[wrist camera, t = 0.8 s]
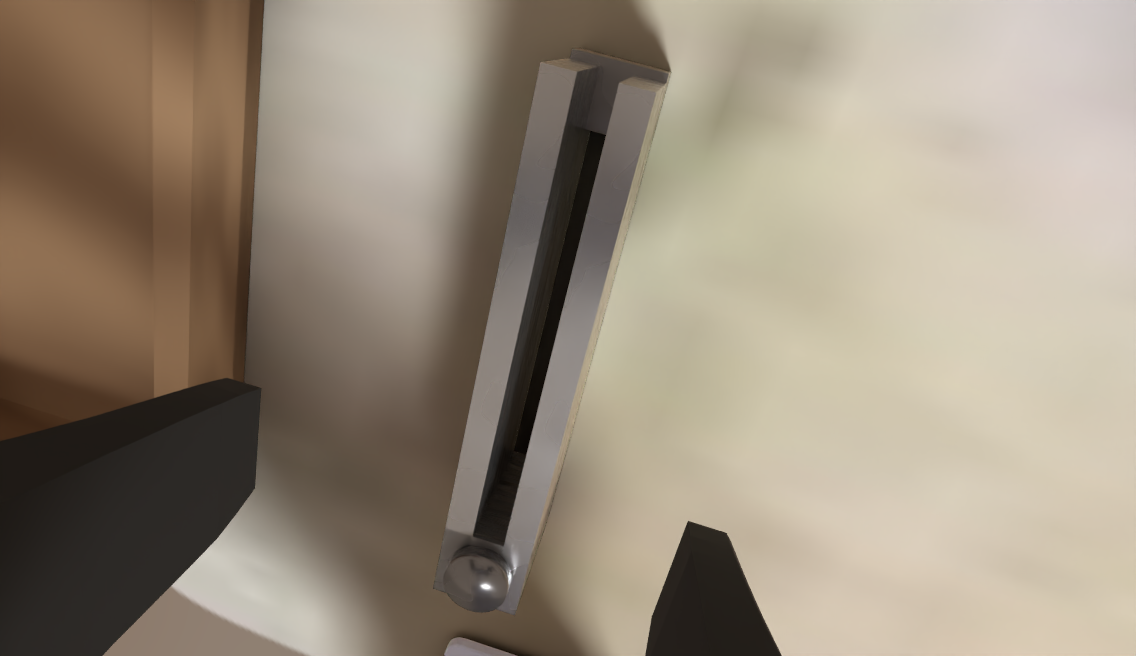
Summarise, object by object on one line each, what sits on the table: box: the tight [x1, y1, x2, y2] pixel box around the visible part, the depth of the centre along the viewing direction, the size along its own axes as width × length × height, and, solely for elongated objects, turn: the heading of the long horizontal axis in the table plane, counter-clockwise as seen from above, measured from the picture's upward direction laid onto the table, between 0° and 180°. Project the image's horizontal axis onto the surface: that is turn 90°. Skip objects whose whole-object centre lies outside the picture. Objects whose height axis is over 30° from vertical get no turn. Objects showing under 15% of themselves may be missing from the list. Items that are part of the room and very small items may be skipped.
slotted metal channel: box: [433, 48, 671, 615], centre depth 17 cm, size 13×2×4 cm, turn 167°
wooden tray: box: [0, 0, 264, 441], centre depth 19 cm, size 18×10×3 cm, turn 167°
